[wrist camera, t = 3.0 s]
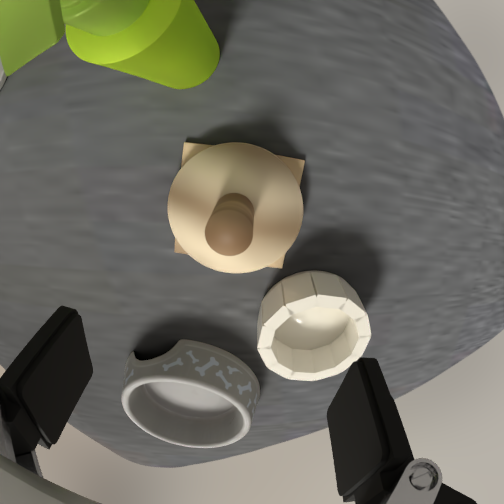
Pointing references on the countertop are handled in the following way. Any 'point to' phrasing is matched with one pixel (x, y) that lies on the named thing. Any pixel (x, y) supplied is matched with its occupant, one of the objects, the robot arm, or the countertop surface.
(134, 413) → the dog bowl
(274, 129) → the countertop surface
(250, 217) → the lid
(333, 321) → the bowl
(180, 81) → the soap dispenser
